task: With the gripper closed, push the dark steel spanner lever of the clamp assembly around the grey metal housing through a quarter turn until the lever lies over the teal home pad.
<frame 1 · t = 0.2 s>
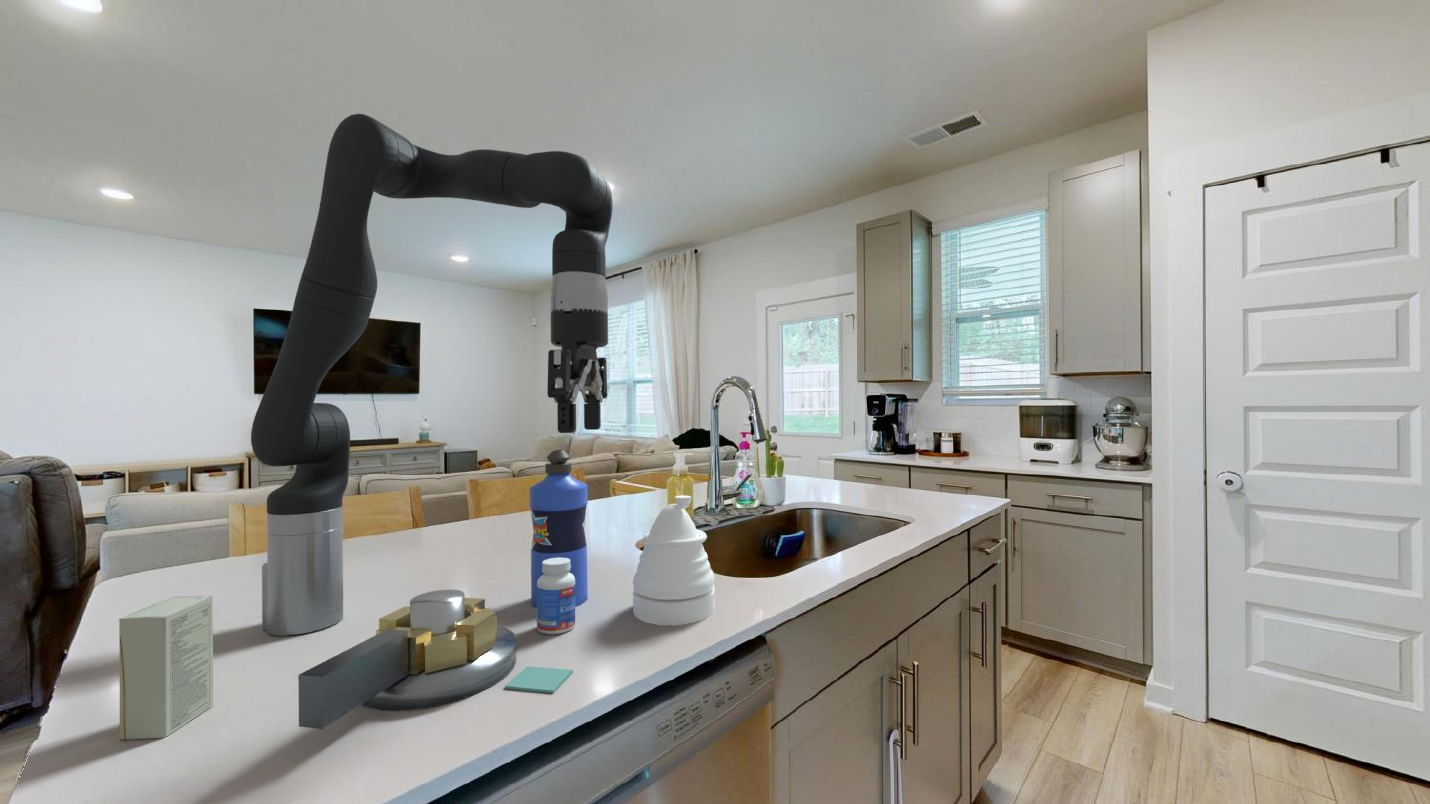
hand: (580, 431, 76), 29 cm above the counter, tool pointing down, fingers open, 8 cm apart
honey pot: (674, 611, 89), on the counter
home pad: (539, 680, 67), on the counter
blue bottle: (559, 601, 94), on the counter
skincare box: (169, 725, 58), on the counter
clamp assembly: (405, 647, 64), point 5 cm above the counter, hinge at 0.0°
housing: (438, 671, 69), on the counter
pill bottle: (556, 629, 82), on the counter
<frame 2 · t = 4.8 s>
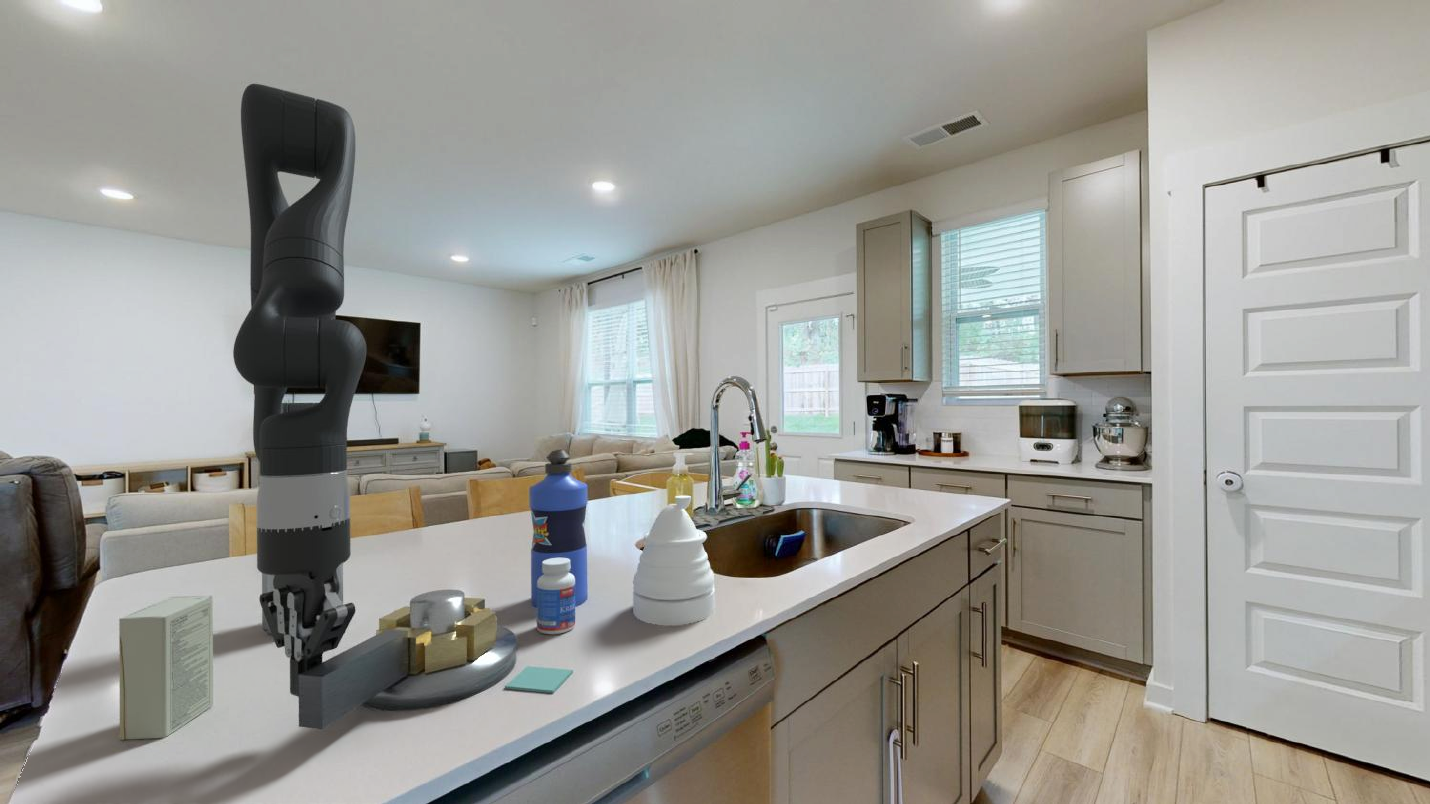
hand: (306, 692, 56), 4 cm above the counter, tool pointing down, fingers closed
clamp assembly: (405, 647, 64), point 5 cm above the counter, hinge at 0.0°, touching gripper
everything else where it was.
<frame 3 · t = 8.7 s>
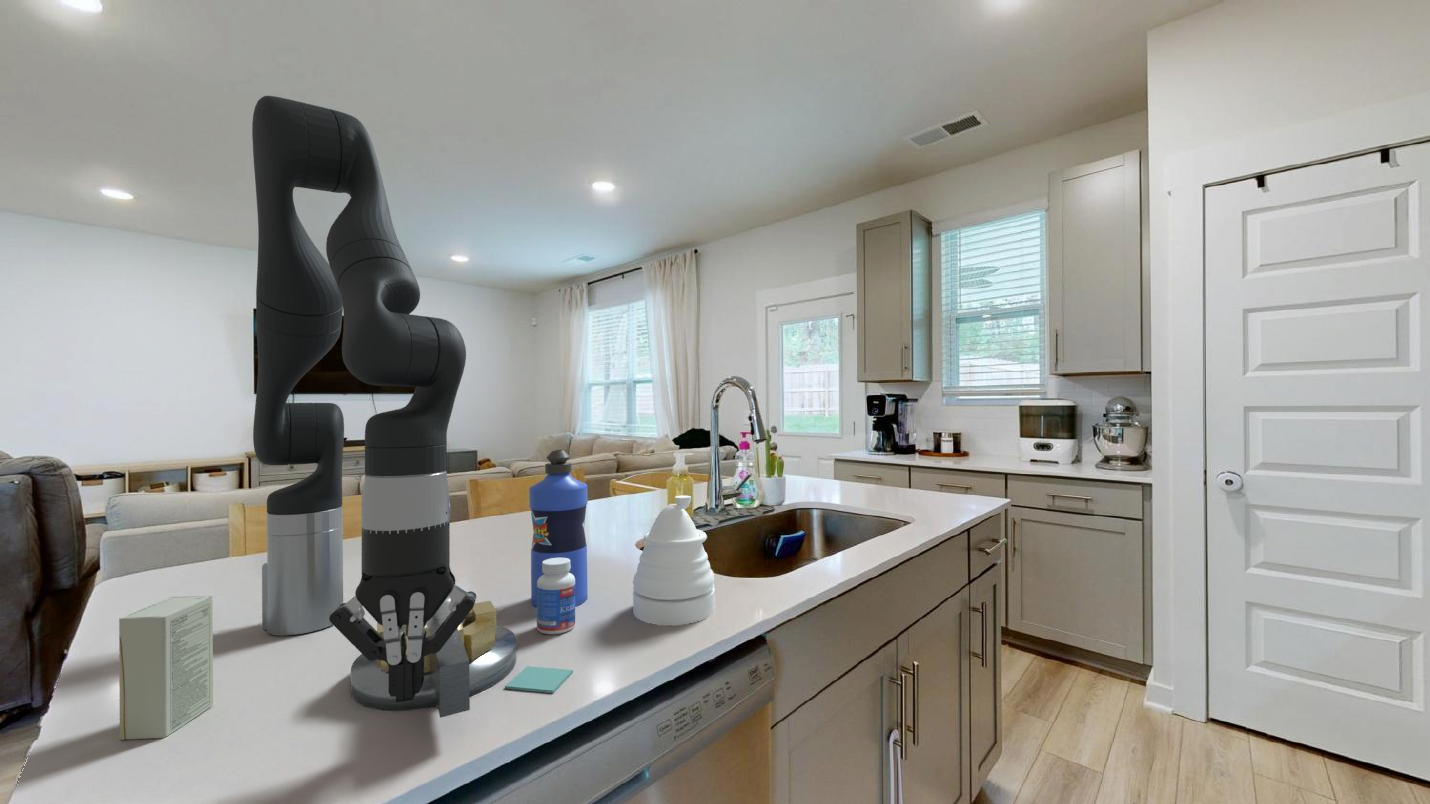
hand: (406, 697, 55), 4 cm above the counter, tool pointing down, fingers closed
clamp assembly: (442, 644, 64), point 5 cm above the counter, hinge at 42.2°, touching gripper
everything else where it was.
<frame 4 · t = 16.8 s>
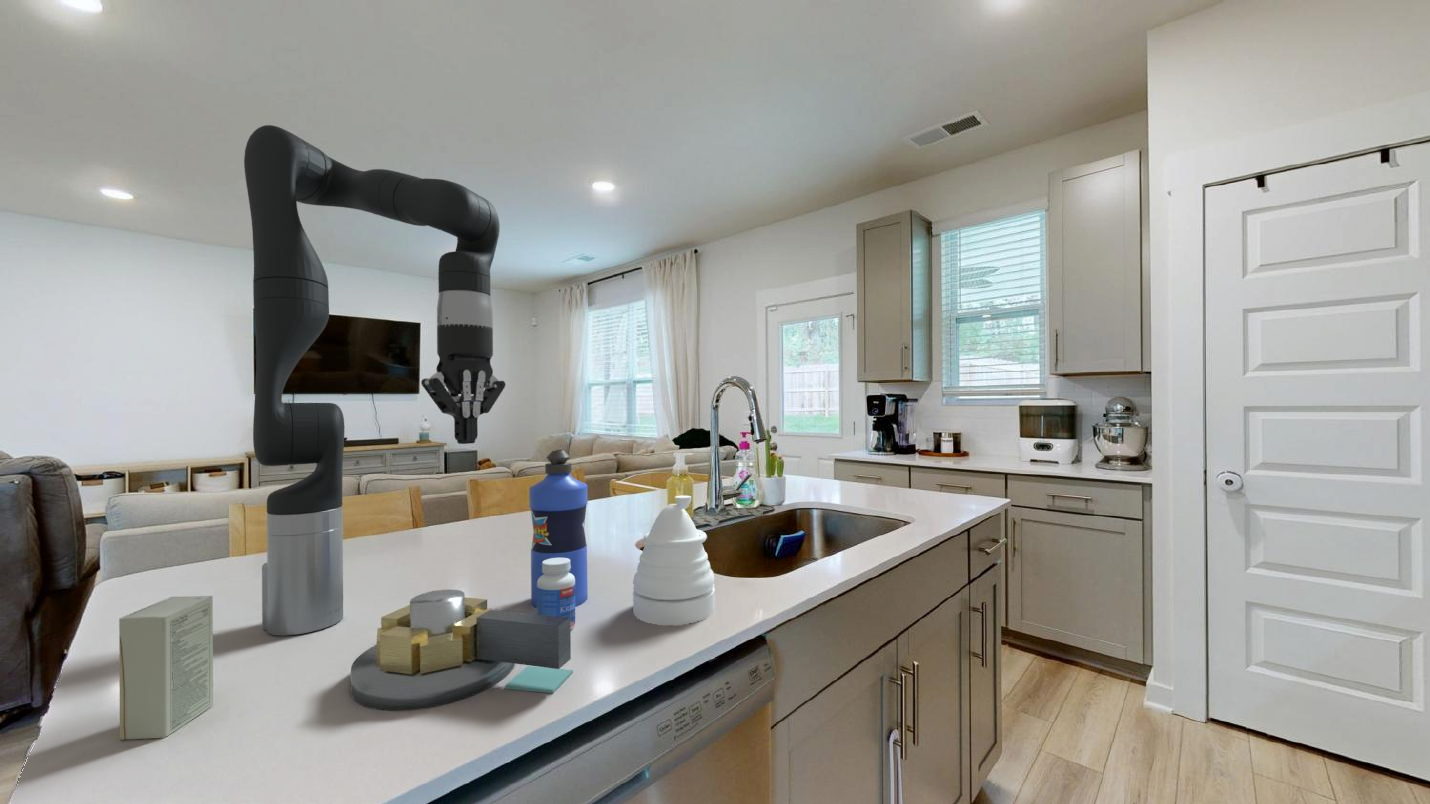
hand: (466, 443, 83), 27 cm above the counter, tool pointing down, fingers closed
clamp assembly: (476, 632, 68), point 5 cm above the counter, hinge at 85.7°
everything else where it was.
at the end: clamp assembly at +86° (first picture: +0°) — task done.
